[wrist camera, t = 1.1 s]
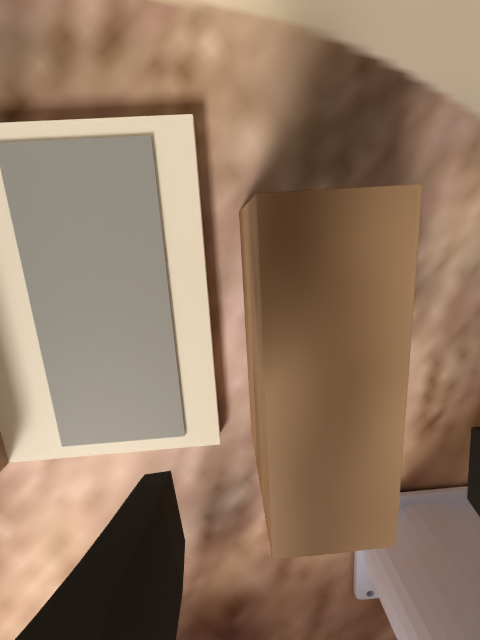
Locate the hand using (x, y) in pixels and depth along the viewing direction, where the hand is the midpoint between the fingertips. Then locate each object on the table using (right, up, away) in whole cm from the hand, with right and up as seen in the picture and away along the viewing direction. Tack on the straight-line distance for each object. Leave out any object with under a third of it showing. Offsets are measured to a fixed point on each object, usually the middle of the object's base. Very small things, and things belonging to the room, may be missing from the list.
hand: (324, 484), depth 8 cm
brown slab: (0, +3, +10) cm, 11 cm away
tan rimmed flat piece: (-10, +5, +9) cm, 14 cm away
